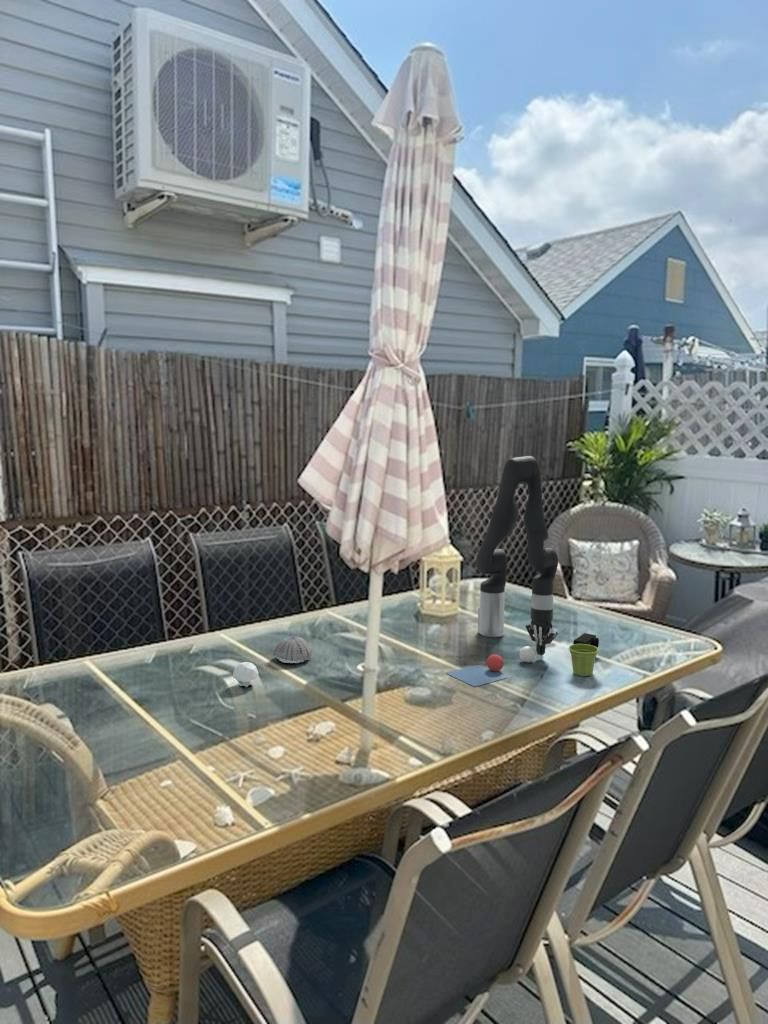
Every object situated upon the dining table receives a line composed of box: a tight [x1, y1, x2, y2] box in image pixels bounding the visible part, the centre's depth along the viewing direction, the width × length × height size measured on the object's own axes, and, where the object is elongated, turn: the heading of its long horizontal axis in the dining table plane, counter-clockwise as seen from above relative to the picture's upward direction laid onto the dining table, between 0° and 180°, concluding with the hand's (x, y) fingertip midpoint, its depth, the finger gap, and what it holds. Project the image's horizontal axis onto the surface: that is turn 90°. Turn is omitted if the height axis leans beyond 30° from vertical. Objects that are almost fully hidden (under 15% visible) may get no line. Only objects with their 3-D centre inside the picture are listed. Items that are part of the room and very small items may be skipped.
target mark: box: [446, 664, 508, 688], centre depth 233 cm, size 14×14×1 cm
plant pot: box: [568, 643, 599, 677], centre depth 234 cm, size 9×9×9 cm
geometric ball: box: [232, 661, 259, 682], centre depth 224 cm, size 8×8×8 cm
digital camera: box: [572, 632, 600, 649], centre depth 250 cm, size 10×5×7 cm, turn 144°
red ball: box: [486, 654, 504, 672], centre depth 237 cm, size 6×6×6 cm
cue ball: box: [519, 645, 537, 663], centre depth 245 cm, size 6×6×6 cm
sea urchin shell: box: [273, 636, 313, 661], centre depth 248 cm, size 13×14×8 cm
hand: (540, 654), depth 248 cm, fingers closed
